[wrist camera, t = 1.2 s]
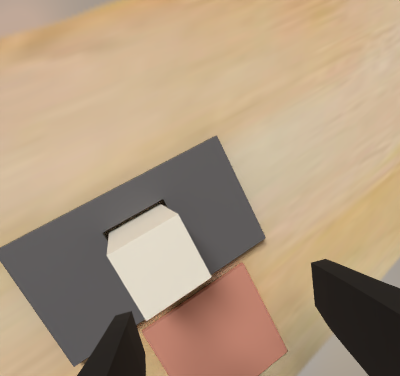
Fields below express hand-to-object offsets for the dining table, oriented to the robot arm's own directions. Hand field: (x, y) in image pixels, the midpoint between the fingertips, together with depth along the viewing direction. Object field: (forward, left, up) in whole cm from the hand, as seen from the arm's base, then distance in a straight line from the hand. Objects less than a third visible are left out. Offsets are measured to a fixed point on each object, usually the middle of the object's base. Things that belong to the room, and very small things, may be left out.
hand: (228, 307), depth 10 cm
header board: (-1, +1, -10) cm, 10 cm away
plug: (-1, +1, -10) cm, 10 cm away
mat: (0, -9, -10) cm, 13 cm away
